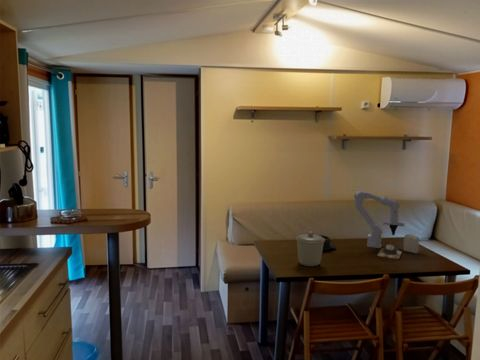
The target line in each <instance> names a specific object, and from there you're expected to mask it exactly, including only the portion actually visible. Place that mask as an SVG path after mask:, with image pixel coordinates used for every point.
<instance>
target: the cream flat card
mask: <svg viewBox="0 0 480 360" xmlns="http://www.w3.org/2000/svg"><path fill="white" fill-rule="evenodd" d="M402 252H403V251H402V250H398V249H397V248H396V247H394V250H388V249H386V246H384V247H383V248H382V247H381V248H380V250H379V251H378V253H377V255H376V256H377V257H381V258H386V259H387V258H388V259H395V260H399V259H400V258H401V255H402V254H403V253H402Z"/></svg>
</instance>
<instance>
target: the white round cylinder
mask: <svg viewBox="0 0 480 360" xmlns="http://www.w3.org/2000/svg"><path fill="white" fill-rule="evenodd" d="M385 247H386V249H388V250H394V248H395V246H394V244H393V245H392V244H386V246H385Z"/></svg>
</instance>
